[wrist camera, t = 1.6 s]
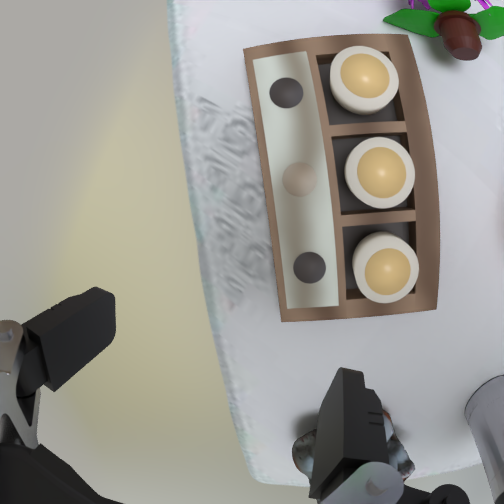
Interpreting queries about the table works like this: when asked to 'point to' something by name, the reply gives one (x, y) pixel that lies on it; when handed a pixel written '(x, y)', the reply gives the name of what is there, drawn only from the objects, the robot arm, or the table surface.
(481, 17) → the purple flower sprig
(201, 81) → the table surface
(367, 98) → the button
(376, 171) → the button mid
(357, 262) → the button
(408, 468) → the lucky cat figurine
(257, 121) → the wooden candle tray
